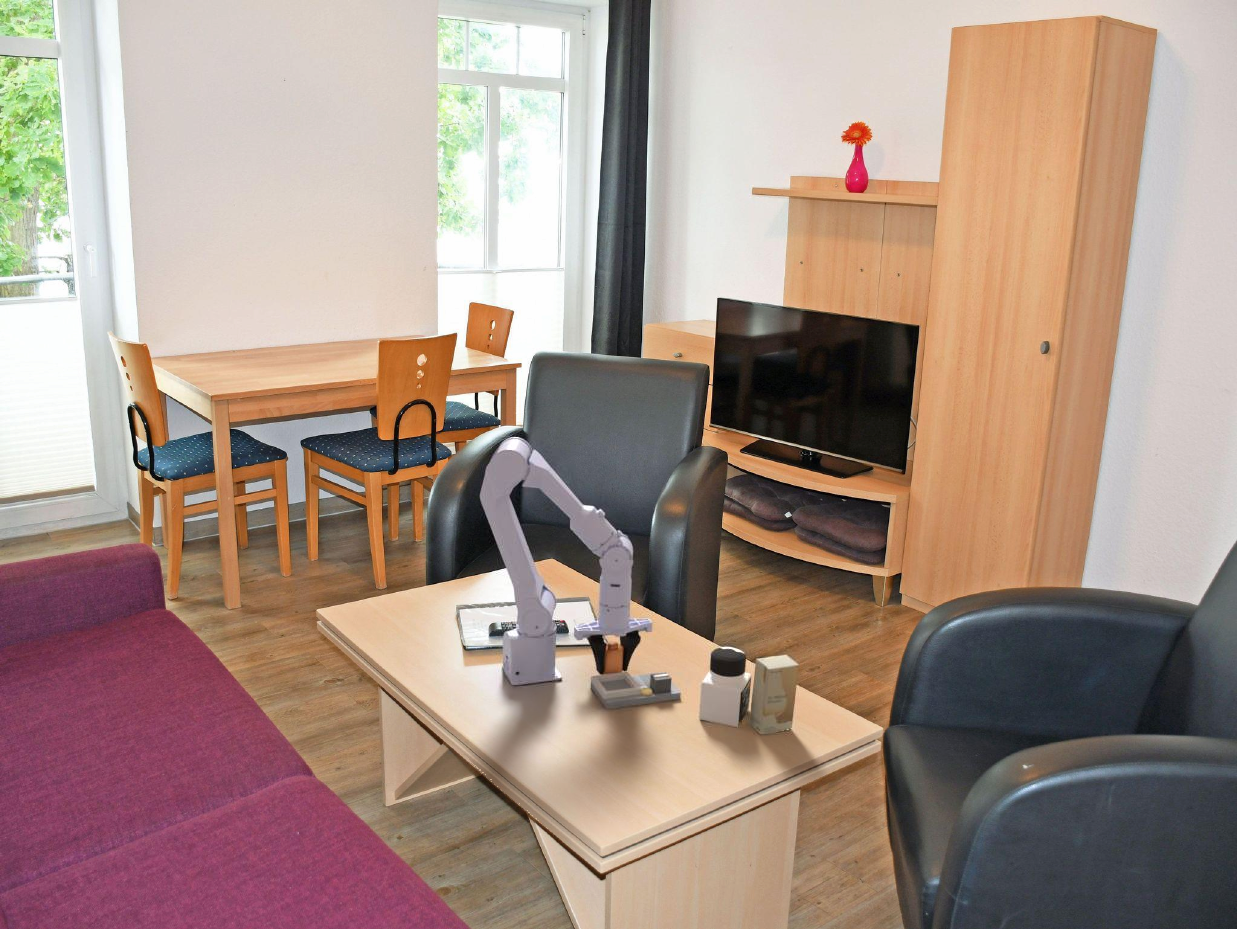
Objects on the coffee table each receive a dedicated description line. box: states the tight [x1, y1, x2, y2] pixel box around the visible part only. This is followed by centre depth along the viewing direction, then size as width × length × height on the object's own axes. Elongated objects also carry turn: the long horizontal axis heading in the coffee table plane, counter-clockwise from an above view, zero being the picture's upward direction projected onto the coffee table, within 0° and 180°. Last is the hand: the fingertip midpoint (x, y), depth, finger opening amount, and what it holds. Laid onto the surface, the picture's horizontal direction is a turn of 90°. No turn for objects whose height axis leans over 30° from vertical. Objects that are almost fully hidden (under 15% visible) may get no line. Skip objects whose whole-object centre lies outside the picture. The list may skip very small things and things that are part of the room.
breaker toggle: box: [650, 671, 672, 693], centre depth 194 cm, size 3×2×3 cm
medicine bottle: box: [698, 646, 752, 728], centre depth 187 cm, size 7×7×12 cm
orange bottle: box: [600, 641, 624, 675], centre depth 200 cm, size 4×4×7 cm
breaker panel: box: [590, 671, 681, 710], centre depth 195 cm, size 14×8×2 cm, turn 111°
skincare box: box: [749, 654, 800, 735], centre depth 184 cm, size 6×4×12 cm
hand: (611, 670), depth 200 cm, fingers closed on orange bottle, 4 cm apart
